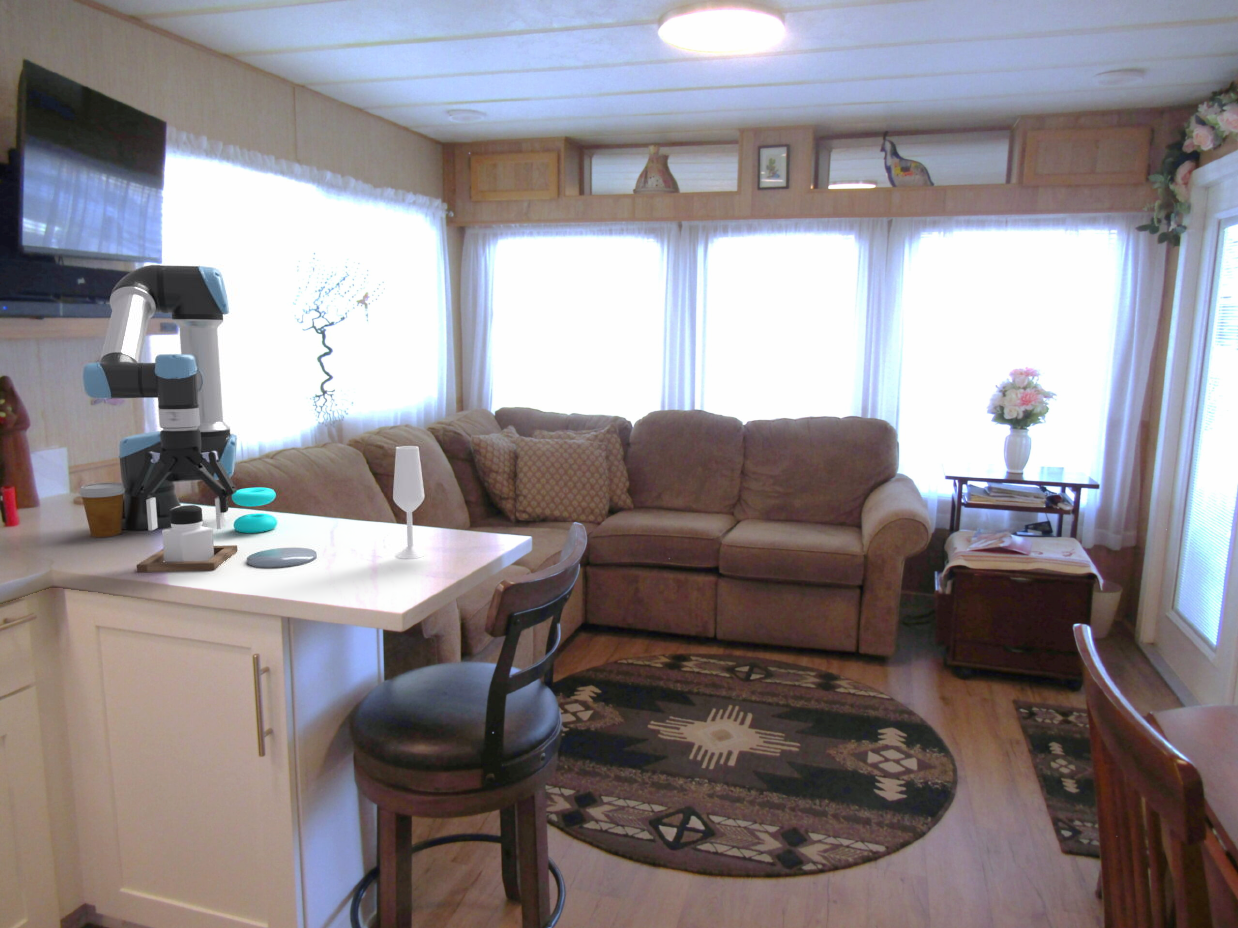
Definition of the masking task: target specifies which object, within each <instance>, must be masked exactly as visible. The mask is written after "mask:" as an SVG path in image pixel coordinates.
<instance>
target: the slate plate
mask: <svg viewBox="0 0 1238 928" xmlns="http://www.w3.org/2000/svg"><path fill="white" fill-rule="evenodd" d="M317 555H318V554H317V551H316V550H314V549H311V548H307V547H306V548H305V547H280V548H279V547H278V548H270V549H266V550H261V551H257V552H255V553H252V554H249V555H248V556H247V557H246V563H248V564H249V566H250V565H252V566H251V567H254V566H256V567H255V568H260V567H281V568H288V567H287V566H290V567H295V566H294V565H297V566H301V565H304V563H305V564H308V563H310V561H311V562H313V561H315V560H316V559H317ZM307 562H308V563H307ZM248 564H247V565H248ZM300 564H301V565H300Z"/></svg>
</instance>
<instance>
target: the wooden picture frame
mask: <svg viewBox="0 0 1238 928" xmlns="http://www.w3.org/2000/svg"><path fill="white" fill-rule="evenodd" d="M237 551H238V545H237V544H231V545H230V544H229V545H214V554H216V555H214V556H213V557H212V558H210V559H209V560H208V561H177V562H164V552H163V548H162V549H160V550H158V551H157V552H155V553H153V554H152V555H151V556H149V557H147V558H146V559H144V560H142V561H141V562H139V563H138V564H136V566H135V567H136V572H137V573H155V572H157V573H158V572H189V571H190V572H191V571H192V572H195V571H200V572H201V571H215V570H216V568H217V567H218V566H219V565H220V566H221V564H222V563H223V562H224V561H225V562H227V561H228V560H229V559H230V558H232V557H233V556H234V555H235V554H237V553H238V552H237ZM236 552H237V553H236ZM232 555H233V556H232ZM231 556H232V557H231ZM228 558H229V559H228ZM227 559H228V560H227ZM226 560H227V561H226ZM225 562H224V563H225ZM224 563H223V564H224ZM223 564H222V565H223ZM220 566H219V567H220ZM219 567H218V568H219ZM218 568H217V569H218Z"/></svg>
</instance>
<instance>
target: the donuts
mask: <svg viewBox="0 0 1238 928" xmlns="http://www.w3.org/2000/svg"><path fill="white" fill-rule="evenodd" d="M276 497H277V494H276V492H275V490H274V489H272V488H268V487H247V488H241V489H237V492H236V493H234V494H232V495H231V500H232V501H233V503H234V504H236V505H237V506H242V507H260V506H264V505H269V504H271V502H273V501H274V500H275V499H276ZM277 525H278V519H277V518H276V517H275V516H274V515H271V514H269V513H264V512H263V513H261V512H260V513H259V512H258V513H247V514H244V515H240V516H239V517H237V518H236V519H235V520H234V522H233V529H234V530H235V531H237V532H239V533H242V534H243V533H244V534H258V533H264V531H265V532H269V531H271V530H274V529H275V528H276V527H277Z"/></svg>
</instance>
